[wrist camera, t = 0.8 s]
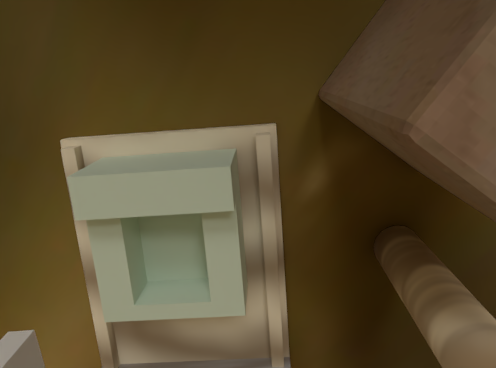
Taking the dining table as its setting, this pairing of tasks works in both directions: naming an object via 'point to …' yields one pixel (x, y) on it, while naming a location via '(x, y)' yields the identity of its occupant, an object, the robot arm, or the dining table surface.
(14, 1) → the dining table surface
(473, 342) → the dowel
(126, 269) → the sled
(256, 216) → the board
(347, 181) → the dining table surface
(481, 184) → the wooden block
